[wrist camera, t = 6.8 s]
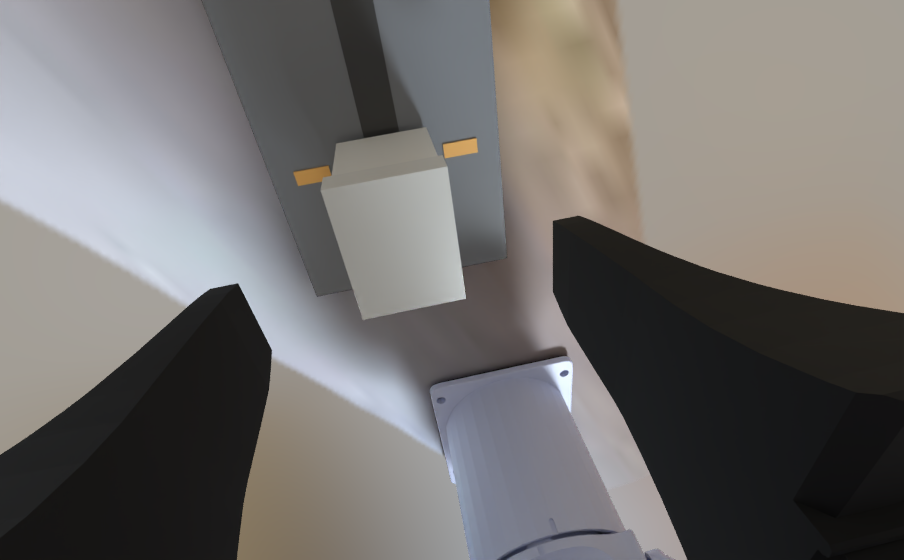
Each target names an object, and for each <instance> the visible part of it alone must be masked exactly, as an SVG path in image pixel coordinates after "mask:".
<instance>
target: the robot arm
mask: <svg viewBox="0 0 904 560" xmlns="http://www.w3.org/2000/svg"><path fill="white" fill-rule="evenodd" d="M553 293H554V295H555V298H556V300H557V302H558V305H559V307H560V310H561V312H562V314H563V316H564V318H565V321H566V323H567V325H568V327H569V328H570V330H571V332H572V334H573V335H574V337H575V338H576V340H577V342H578V343H579V345H580V347H581V348H582V350H583V351H584V353H585V355H586V356H587V358H588V360H589V361H590V363H591V364H592V366H593V368H594V369H595V371H596V372H597V374H598V376H599V377H600V379H601V380H602V382H603V384H604V385H605V387H606V388H607V390H608V392H609V393H610V395H611V396H612V398H613V400H614V401H615V403H616V405H617V407H618V409H619V410H620V412H621V414H622V416H623V418H624V420H625V422H626V424H627V426H628V428H629V430H630V432H631V434H632V436H633V438H634V440H635V442H636V444H637V446H638V448H639V451H640V453H641V455H642V457H643V459H644V461H645V463H646V466H647V468H648V470H649V472H650V474H651V476H652V479H653V481H654V483H655V485H656V487H657V490H658V492H659V494H660V496H661V498H662V501H663V503H664V505H665V508H666V510H667V512H668V515H669V517H670V519H671V522H672V524H673V526H674V529H675V530H676V533H677V536H678V538H679V540H680V542H681V545H682V547H683V550H684V552H685V555H686V557H687V560H904V313H898V312H892V311H886V310H880V309H873V308H867V307H860V306H855V305H849V304H845V303H839V302H834V301H828V300H824V299H819V298H814V297H810V296H805V295H801V294H797V293H792V292H788V291H783V290H779V289H775V288H771V287H767V286H763V285H759V284H756V283H752V282H749V281H746V280H742V279H739V278H736V277H732V276H729V275H726V274H722V273H719V272H716V271H713V270H710V269H707V268H704V267H701V266H698V265H696V264H693V263H690V262H688V261H685V260H682V259H680V258H677V257H674V256H672V255H669V254H667V253H665V252H662V251H659V250H657V249H655V248H652V247H650V246H648V245H645V244H643V243H641V242H639V241H636V240H634V239H632V238H630V237H627V236H625V235H623V234H621V233H619V232H616V231H614V230H612V229H610V228H607V227H605V226H603V225H601V224H598V223H596V222H594V221H591V220H589V219H586V218H584V217H581V216H575V217H570V218H565V219H560V220H555V221H553ZM271 355H272V350H271V348H270V346H269V344H268V342H267V340H266V338H265V336H264V334H263V332H262V330H261V328H260V326H259V324H258V322H257V320H256V318H255V316H254V314H253V312H252V310H251V308H250V306H249V304H248V302H247V300H246V298H245V296H244V294H243V292H242V290H241V288H240V286H239V284H233V285H228V286H223V287H218V288H213V289H210V290H208V291H207V292H205V293H204V294H203V295H201V296H200V297H199V298H198V299H196V300H195V301H194V302H193V303H192V304H190V305H189V306H188V307H187V308H186V309H185V310H183V311H182V312H181V313H180V314H179V315H178V316H177V317H176V318H175V319H173V320H172V321H171V322H170V323H169V324H168V325H167V326H166V327H164V328H163V329H162V330H161V331H160V332H159V333H158V334H157V335H155V336H154V337H153V338H152V339H151V340H150V341H149V342H148V343H147V344H145V345H144V346H143V347H142V348H141V349H140V350H139V351H137V352H136V353H135V354H134V355H133V356H132V357H130V358H129V359H128V360H127V361H126V362H124V363H123V364H122V365H121V366H120V367H118V368H117V369H116V370H115V371H114V372H112V373H111V374H110V375H109V376H107V377H106V378H105V379H104V380H103V381H101V382H100V383H99V384H98V385H97V386H96V387H94V388H93V389H92V390H91V391H89V392H88V393H87V394H85V395H84V396H83V397H82V398H80V399H79V400H78V401H76V402H75V403H74V404H72V405H71V406H70V407H68V408H67V409H66V410H65V411H64V412H62V413H60V414H59V415H58V416H56V417H55V418H53V419H52V420H51V421H49V422H48V423H47V424H45V425H44V426H42V427H41V428H40V429H38V430H37V431H35V432H34V433H33V434H31V435H30V436H28V437H27V438H25V439H24V440H22V441H21V442H19V443H18V444H16V445H15V446H13V447H12V448H10V449H9V450H7V451H5V452H4V453H2V454H1V455H0V560H237V551H238V543H239V535H240V526H241V517H242V510H243V503H244V497H245V492H246V487H247V482H248V477H249V473H250V469H251V465H252V460H253V456H254V452H255V448H256V444H257V439H258V435H259V431H260V427H261V422H262V418H263V413H264V409H265V405H266V400H267V396H268V391H269V382H270V372H271ZM572 376H573V363H572V361H571V359H570V358H569V357H567V356H562V357H557V358H552V359H548V360H543V361H539V362H534V363H529V364H525V365H520V366H516V367H511V368H507V369H502V370H497V371H493V372H488V373H484V374H479V375H474V376H470V377H465V378H461V379H456V380H451V381H447V382H442V383H438V384H435V385H433V386H432V387H431V389H430V395H431V400H432V404H433V408H434V412H435V416H436V420H437V425H438V429H439V433H440V437H441V441H442V445H443V450H444V454H445V458H446V462H447V466H448V470H449V474H450V479H451V482H452V483H454V484H456V487H457V492H458V498H459V503H460V509H461V514H462V519H463V525H464V530H465V535H466V541H467V547H468V552H469V558H470V560H675V559H673V558H671V557H669V556H668V555H665V554H664V553H663V552H662V551H661V550H659V549H653V550H650V551H647V552H645V555H644V553H643V551H642V549H641V547H640V545H639V543H638V541H637V539H636V537H635V534H634V532H633V531H632V530H625V528H624V526H623V523H622V521H621V519H620V517H619V515H618V513H617V511H616V509H615V506H614V505H613V503H612V500H611V498H610V496H609V494H608V492H607V489H606V487H605V485H604V483H603V481H602V479H601V477H600V475H599V472H598V470H597V468H596V466H595V464H594V462H593V460H592V458H591V456H590V453H589V451H588V449H587V447H586V445H585V443H584V441H583V439H582V436H581V434H580V432H579V430H578V428H577V426H576V424H575V422H574V419H573V417H572V415H571V400H572ZM440 397H442V398H440Z"/></svg>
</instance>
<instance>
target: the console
mask: <svg viewBox="0 0 904 560" xmlns="http://www.w3.org/2000/svg"><path fill="white" fill-rule="evenodd" d="M202 3H203V5H204V8H205V10H206V13H207V16H208V18H209V21H210V23H211V26H212V28H213V31H214V34H215V36H216V39H217V41H218V44H219V46H220V49H221V51H222V54H223V57H224V59H225V62H226V64H227V67H228V69H229V72H230V75H231V77H232V80H233V82H234V85H235V87H236V90H237V93H238V95H239V98H240V100H241V103H242V105H243V108H244V111H245V113H246V116H247V118H248V121H249V123H250V126H251V129H252V131H253V134H254V136H255V139H256V141H257V144H258V147H259V149H260V152H261V154H262V157H263V159H264V162H265V164H266V167H267V170H268V172H269V175H270V177H271V180H272V182H273V185H274V188H275V190H276V193H277V195H278V198H279V200H280V203H281V206H282V208H283V211H284V213H285V216H286V218H287V221H288V224H289V226H290V229H291V231H292V234H293V236H294V239H295V242H296V244H297V247H298V249H299V252H300V254H301V257H302V260H303V262H304V265H305V267H306V270H307V272H308V275H309V277H310V280H311V283H312V285H313V288H314V290H315V293H316V295H317V297H318V296H323V295H327V294H332V293H337V292H342V291H347V290H352V289H353V288H352V285H351V282H350V279H349V276H348V273H347V270H346V267H345V264H344V261H343V258H342V255H341V252H340V249H339V245H338V242H337V239H336V236H335V233H334V230H333V227H332V224H331V221H330V218H329V215H328V212H327V209H326V206H325V203H324V199H323V196H322V193H321V185H322V180H323V177H328V176H332V170H333V163H334V156H335V149H336V143H342V142H347V141H353V140H358V139H364V138H369V137H374V136H380V135H385V134H391V133H396V132H402V131H407V130H413V129H418V128H424V127H426V128H427V131H428V133H429V136H430V138H431V141H432V143H433V145H434V148H435V150H436V153H437V155H438V156H440V155H443V158H444V160H445V162H446V164H447V167H448V174H449V181H450V188H451V195H452V202H453V209H454V217H455V224H456V231H457V238H458V245H459V252H460V259H461V266H462V267H465V266H470V265H475V264H480V263H485V262H490V261H495V260H500V259H505V258H507V251H506V236H505V222H504V207H503V193H502V178H501V164H500V149H499V135H498V120H497V106H496V91H495V77H494V62H493V48H492V33H491V19H490V4H489V0H202Z"/></svg>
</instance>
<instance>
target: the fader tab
mask: <svg viewBox="0 0 904 560" xmlns="http://www.w3.org/2000/svg"><path fill="white" fill-rule="evenodd" d="M321 193H322V196H323V199H324V203H325V206H326V209H327V212H328V215H329V218H330V221H331V224H332V227H333V230H334V233H335V236H336V239H337V242H338V245H339V249H340V252H341V255H342V258H343V261H344V264H345V267H346V270H347V273H348V276H349V279H350V282H351V285H352V288H353V292H354V295H355V298H356V301H357V304H358V307H359V310H360V313H361V316H362V319H363V320H366V319H371V318H375V317H380V316H385V315H390V314H395V313H400V312H404V311H409V310H414V309H419V308H424V307H428V306H433V305H438V304H443V303H448V302H453V301H457V300H462V299H466V294H465V287H464V280H463V273H462V266H461V259H460V252H459V245H458V238H457V231H456V224H455V217H454V209H453V202H452V195H451V188H450V181H449V174H448V167H447V164H446V162H445V160H444V158H443V155H440V156H438V155H437V153H436V150H435V148H434V145H433V143H432V141H431V138H430V136H429V133H428V131H427V128H426V127H424V128H418V129H413V130H407V131H402V132H396V133H391V134H385V135H380V136H374V137H369V138H364V139H358V140H353V141H347V142H342V143H336V149H335V156H334V163H333V170H332V176H328V177H323V180H322V185H321Z"/></svg>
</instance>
